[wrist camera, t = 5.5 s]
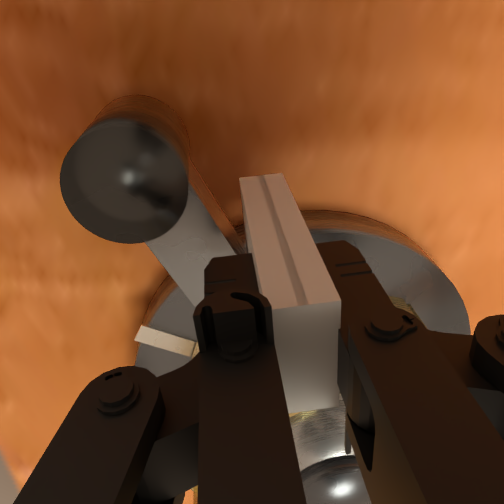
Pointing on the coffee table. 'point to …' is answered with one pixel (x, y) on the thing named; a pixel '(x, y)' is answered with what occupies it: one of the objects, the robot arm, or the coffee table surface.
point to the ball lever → (151, 193)
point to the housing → (333, 419)
